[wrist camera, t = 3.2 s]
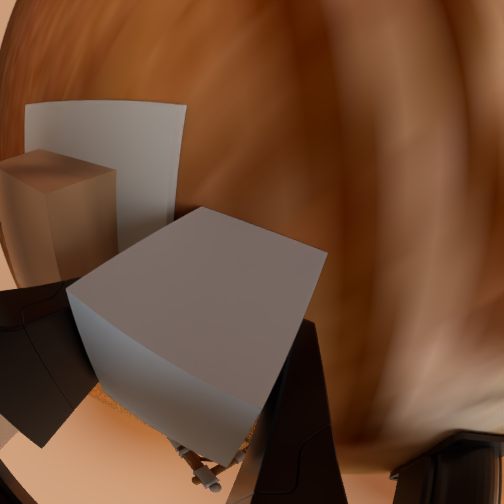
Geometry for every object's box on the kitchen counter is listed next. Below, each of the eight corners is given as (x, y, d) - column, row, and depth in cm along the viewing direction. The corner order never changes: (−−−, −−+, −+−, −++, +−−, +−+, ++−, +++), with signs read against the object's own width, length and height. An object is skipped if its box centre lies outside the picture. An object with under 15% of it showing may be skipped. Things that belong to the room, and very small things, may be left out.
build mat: (186, 105, 7) (178, 105, 7) (171, 362, 13) (167, 367, 13) (31, 103, 10) (25, 104, 10) (47, 272, 16) (44, 274, 16)
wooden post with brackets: (260, 462, 14) (207, 499, 11) (187, 384, 19) (135, 409, 16) (267, 456, 13) (209, 497, 10) (188, 371, 18) (132, 397, 15)
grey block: (327, 252, 7) (262, 409, 3) (288, 346, 9) (227, 467, 5) (201, 206, 8) (65, 288, 4) (192, 302, 10) (104, 392, 6)
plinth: (116, 170, 9) (45, 195, 6) (125, 313, 12) (83, 349, 10) (39, 148, 10) (-8, 164, 8) (52, 259, 14) (17, 281, 11)
